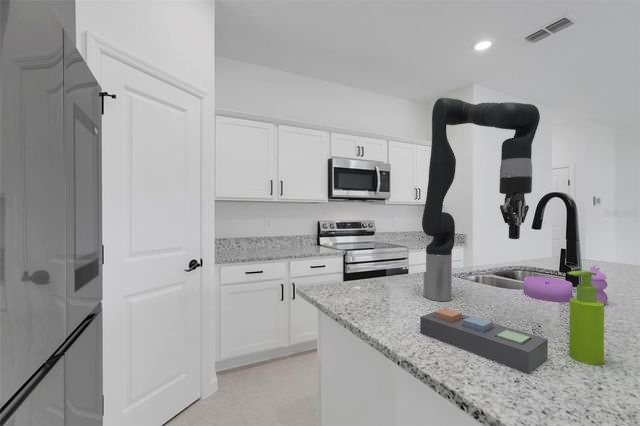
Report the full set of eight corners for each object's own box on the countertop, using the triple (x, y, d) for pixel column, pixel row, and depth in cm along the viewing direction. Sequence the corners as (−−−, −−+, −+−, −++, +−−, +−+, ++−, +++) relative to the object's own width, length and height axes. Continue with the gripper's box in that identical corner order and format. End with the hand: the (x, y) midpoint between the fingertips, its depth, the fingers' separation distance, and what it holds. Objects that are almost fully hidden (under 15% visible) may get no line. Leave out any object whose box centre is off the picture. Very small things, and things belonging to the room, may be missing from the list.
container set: (521, 297, 118) (521, 263, 118) (526, 289, 130) (526, 259, 130) (609, 311, 102) (610, 272, 102) (605, 300, 114) (606, 266, 114)
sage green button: (496, 347, 70) (496, 334, 70) (506, 342, 73) (506, 329, 73) (521, 356, 66) (521, 342, 66) (529, 349, 69) (529, 336, 69)
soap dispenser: (558, 353, 71) (559, 269, 71) (585, 352, 72) (586, 268, 72) (582, 366, 66) (582, 274, 65) (611, 364, 66) (612, 273, 66)
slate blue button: (463, 331, 77) (463, 320, 77) (472, 327, 80) (473, 315, 80) (483, 338, 73) (483, 326, 73) (493, 333, 76) (493, 321, 75)
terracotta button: (434, 322, 83) (434, 311, 83) (444, 318, 86) (444, 308, 86) (451, 328, 79) (451, 316, 79) (461, 323, 82) (461, 312, 82)
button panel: (420, 332, 83) (420, 316, 83) (442, 324, 90) (442, 309, 90) (528, 373, 62) (528, 352, 62) (547, 358, 69) (547, 338, 69)
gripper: (511, 178, 90) (509, 236, 91) (489, 175, 83) (488, 238, 83) (540, 177, 84) (539, 238, 85) (520, 173, 77) (518, 241, 77)
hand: (514, 238), depth 84 cm, fingers closed
